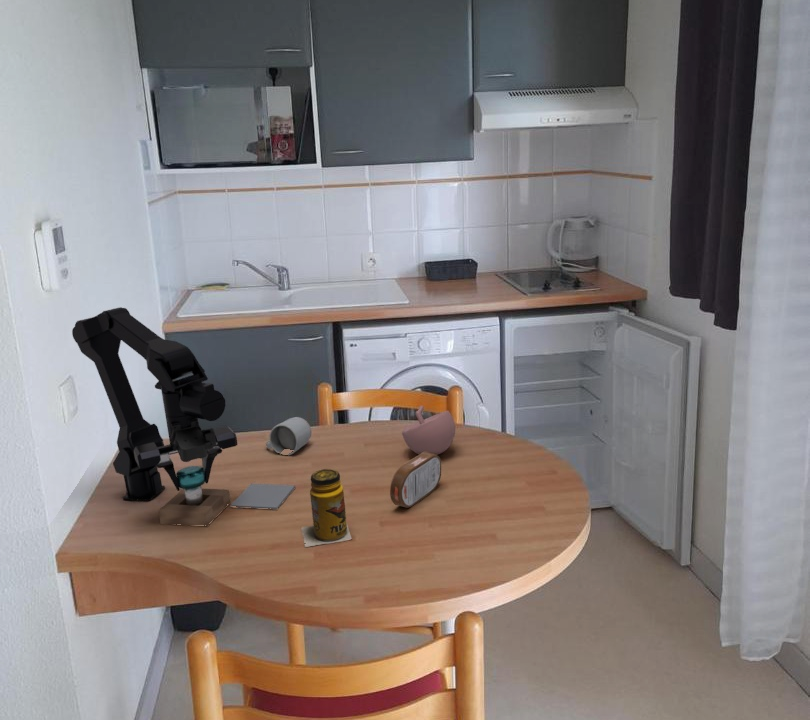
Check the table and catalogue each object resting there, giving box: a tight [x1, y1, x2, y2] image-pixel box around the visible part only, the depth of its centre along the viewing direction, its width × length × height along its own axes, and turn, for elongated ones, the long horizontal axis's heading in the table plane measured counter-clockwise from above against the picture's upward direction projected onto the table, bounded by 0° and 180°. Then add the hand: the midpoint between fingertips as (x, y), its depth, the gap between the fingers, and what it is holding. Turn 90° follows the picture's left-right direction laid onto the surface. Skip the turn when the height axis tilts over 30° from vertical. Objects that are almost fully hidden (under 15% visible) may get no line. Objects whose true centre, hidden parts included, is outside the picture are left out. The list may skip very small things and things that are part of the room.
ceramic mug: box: [265, 416, 312, 456], centre depth 178 cm, size 11×8×8 cm
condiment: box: [300, 468, 353, 548], centre depth 136 cm, size 7×8×12 cm
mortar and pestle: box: [401, 405, 456, 456], centre depth 168 cm, size 12×12×11 cm
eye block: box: [158, 487, 232, 527], centre depth 148 cm, size 10×10×3 cm
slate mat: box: [230, 483, 296, 509], centre depth 154 cm, size 10×10×1 cm
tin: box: [389, 452, 442, 509], centre depth 148 cm, size 15×3×8 cm, turn 145°
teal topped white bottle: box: [175, 465, 206, 506], centre depth 147 cm, size 5×5×8 cm
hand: (192, 486), depth 147 cm, fingers closed on teal topped white bottle, 5 cm apart
